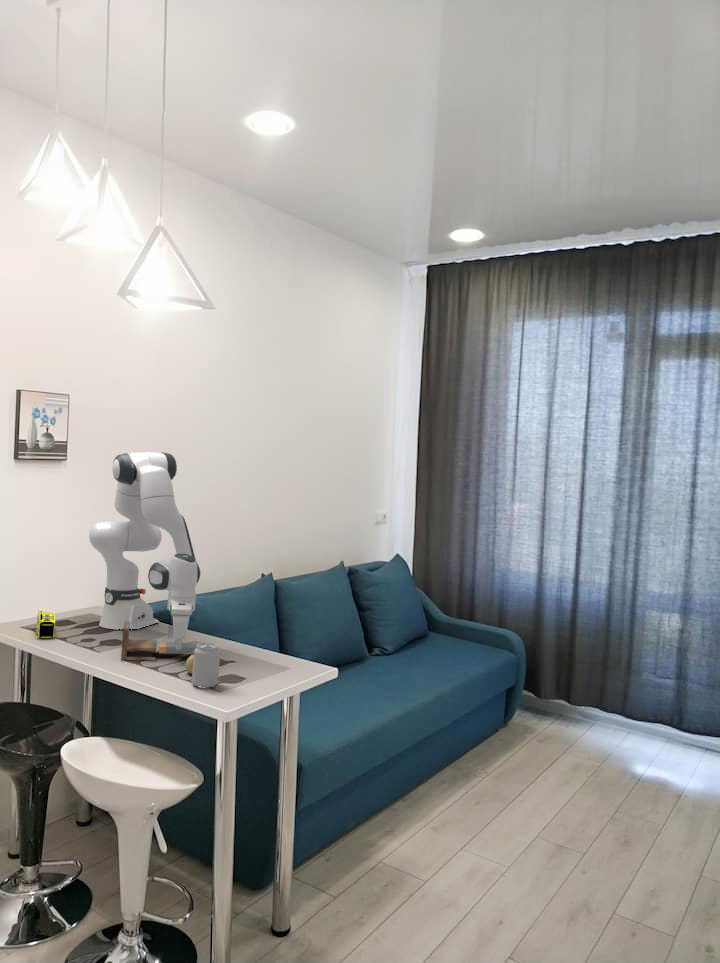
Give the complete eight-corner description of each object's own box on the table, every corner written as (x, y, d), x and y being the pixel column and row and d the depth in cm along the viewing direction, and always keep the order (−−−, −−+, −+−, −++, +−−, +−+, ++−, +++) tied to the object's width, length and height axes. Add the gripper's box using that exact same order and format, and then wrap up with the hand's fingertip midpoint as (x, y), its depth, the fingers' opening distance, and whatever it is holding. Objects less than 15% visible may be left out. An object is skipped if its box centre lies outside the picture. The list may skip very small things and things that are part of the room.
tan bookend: (155, 651, 249) (158, 622, 248) (155, 660, 239) (157, 629, 238) (122, 651, 246) (125, 621, 246) (120, 660, 236) (123, 628, 236)
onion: (210, 670, 234) (211, 647, 233) (212, 677, 226) (214, 654, 226) (183, 670, 231) (185, 647, 231) (185, 678, 224) (187, 654, 223)
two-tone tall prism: (196, 648, 250) (196, 643, 249) (196, 653, 244) (197, 647, 244) (159, 648, 247) (159, 642, 247) (158, 653, 241) (159, 646, 241)
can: (191, 689, 214) (194, 647, 213) (191, 681, 221) (194, 641, 221) (217, 689, 215) (221, 648, 215) (217, 681, 223) (220, 641, 222)
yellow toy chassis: (35, 629, 265) (37, 605, 265) (53, 628, 268) (54, 605, 268) (36, 640, 251) (38, 615, 251) (54, 640, 253) (56, 615, 253)
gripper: (171, 597, 254) (168, 638, 254) (171, 610, 234) (168, 654, 235) (190, 598, 256) (187, 638, 256) (192, 610, 236) (188, 654, 236)
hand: (178, 646), depth 245 cm, fingers closed on two-tone tall prism, 6 cm apart
